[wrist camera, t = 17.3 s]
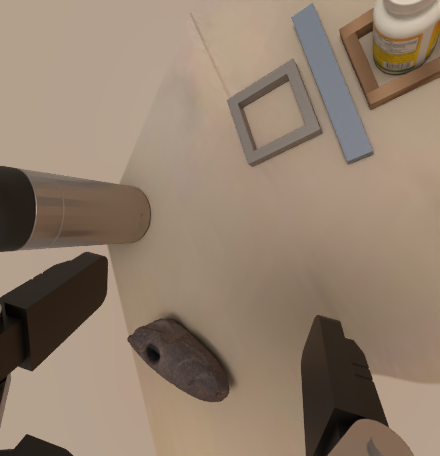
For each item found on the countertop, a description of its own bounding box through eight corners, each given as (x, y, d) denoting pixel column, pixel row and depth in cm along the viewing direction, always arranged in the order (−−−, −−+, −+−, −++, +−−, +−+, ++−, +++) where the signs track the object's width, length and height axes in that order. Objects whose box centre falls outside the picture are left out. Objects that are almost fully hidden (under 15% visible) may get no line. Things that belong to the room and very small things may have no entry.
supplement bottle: (390, 87, 29) (395, 31, 21) (363, 47, 31) (357, -20, 22) (448, 48, 27) (481, -31, 19) (417, 7, 28) (434, -85, 20)
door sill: (373, 154, 30) (372, 150, 29) (348, 164, 31) (347, 161, 30) (315, 11, 33) (312, 2, 32) (294, 25, 34) (291, 17, 33)
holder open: (252, 166, 37) (248, 164, 35) (232, 104, 38) (226, 100, 37) (322, 133, 33) (320, 129, 31) (296, 64, 34) (293, 58, 33)
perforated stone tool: (245, 371, 38) (219, 399, 31) (227, 400, 39) (200, 433, 33) (166, 302, 44) (132, 315, 38) (153, 329, 45) (118, 346, 39)
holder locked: (370, 109, 30) (370, 104, 29) (340, 37, 32) (339, 29, 30) (476, 59, 26) (481, 50, 25) (436, -22, 28) (439, -34, 26)
